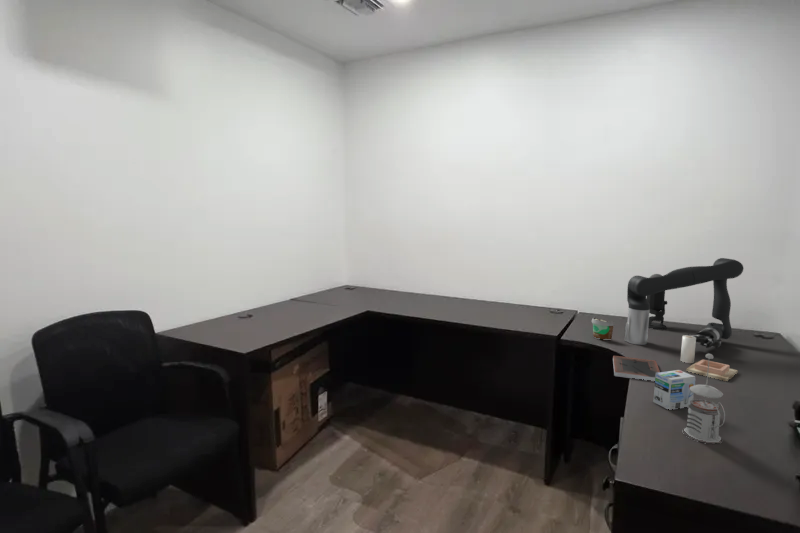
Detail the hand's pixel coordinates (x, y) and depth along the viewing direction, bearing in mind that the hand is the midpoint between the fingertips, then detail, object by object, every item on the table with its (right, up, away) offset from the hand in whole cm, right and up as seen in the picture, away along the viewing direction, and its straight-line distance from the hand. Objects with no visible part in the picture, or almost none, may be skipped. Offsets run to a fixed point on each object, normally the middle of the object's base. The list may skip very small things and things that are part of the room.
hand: (696, 343), depth 198 cm
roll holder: (-6, -9, -18) cm, 21 cm away
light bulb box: (-40, -13, -48) cm, 64 cm away
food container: (-31, -3, +28) cm, 42 cm away
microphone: (+10, 0, +51) cm, 51 cm away
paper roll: (-8, -7, -6) cm, 12 cm away
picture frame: (-36, -9, -16) cm, 40 cm away
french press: (-44, -16, -69) cm, 84 cm away
